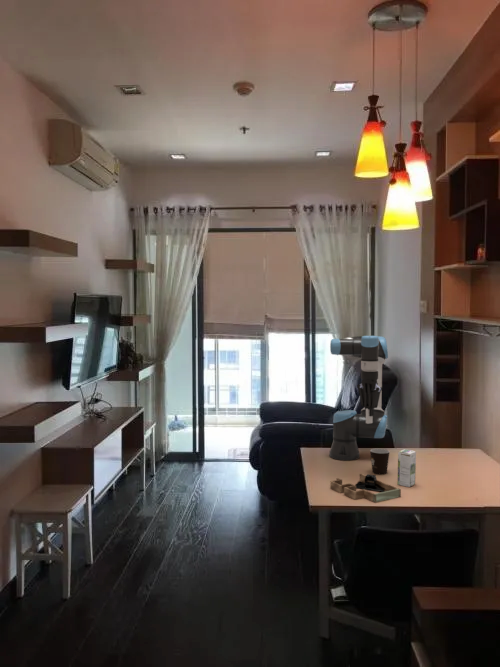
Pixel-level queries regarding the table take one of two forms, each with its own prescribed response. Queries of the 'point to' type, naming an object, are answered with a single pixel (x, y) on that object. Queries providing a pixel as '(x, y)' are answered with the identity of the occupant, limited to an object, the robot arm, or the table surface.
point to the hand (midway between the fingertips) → (369, 423)
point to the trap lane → (352, 493)
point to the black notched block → (370, 483)
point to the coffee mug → (379, 460)
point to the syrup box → (406, 468)
